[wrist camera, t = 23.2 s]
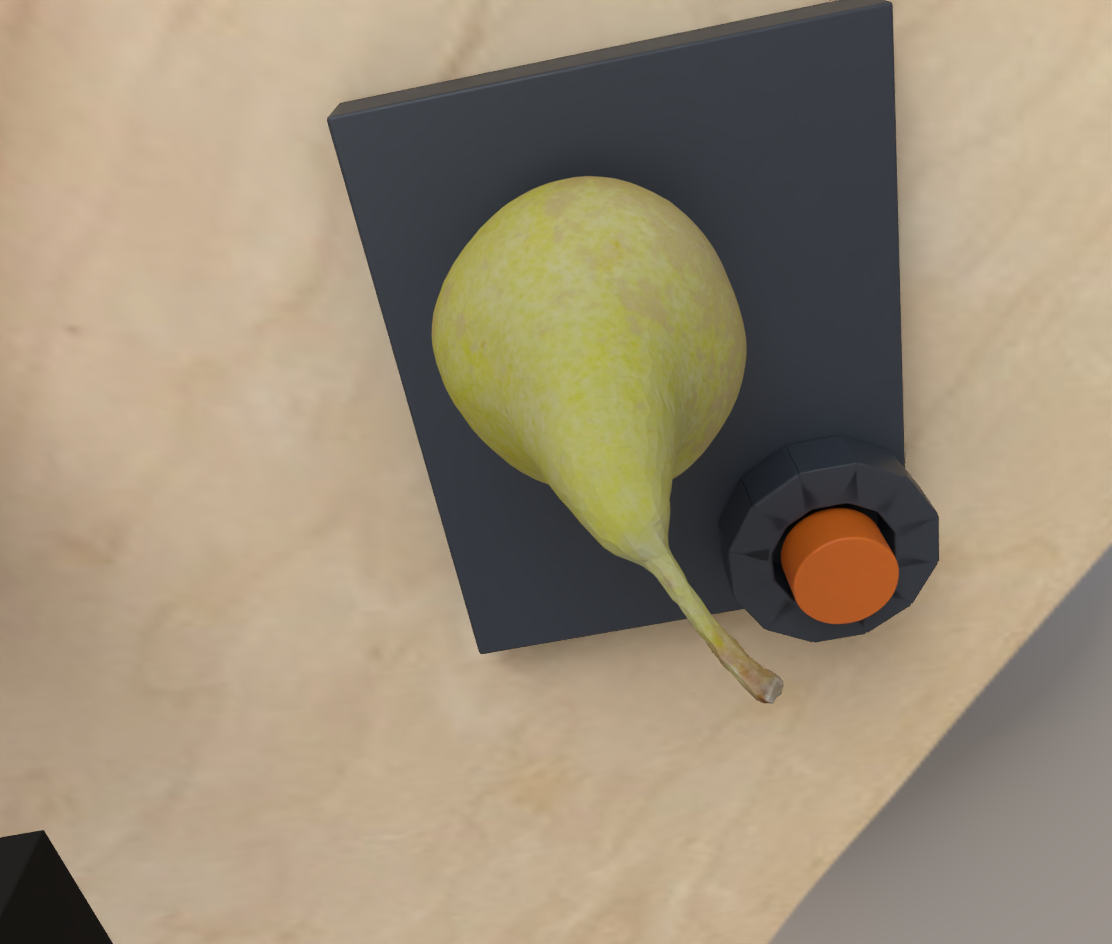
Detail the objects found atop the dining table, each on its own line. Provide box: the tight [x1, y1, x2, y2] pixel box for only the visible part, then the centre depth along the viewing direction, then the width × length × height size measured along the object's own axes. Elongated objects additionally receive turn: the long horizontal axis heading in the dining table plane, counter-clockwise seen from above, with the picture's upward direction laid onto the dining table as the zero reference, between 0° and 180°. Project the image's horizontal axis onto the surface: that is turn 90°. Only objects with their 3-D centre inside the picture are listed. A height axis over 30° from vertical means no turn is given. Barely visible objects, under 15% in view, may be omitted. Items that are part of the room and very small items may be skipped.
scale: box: [327, 0, 939, 654], centre depth 27 cm, size 16×13×4 cm
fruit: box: [432, 176, 784, 703], centre depth 21 cm, size 7×8×12 cm
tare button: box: [781, 508, 899, 624], centre depth 28 cm, size 3×3×2 cm
